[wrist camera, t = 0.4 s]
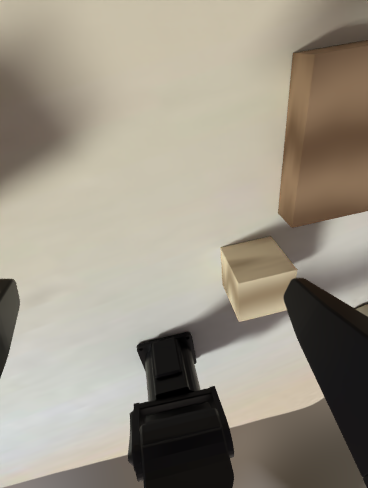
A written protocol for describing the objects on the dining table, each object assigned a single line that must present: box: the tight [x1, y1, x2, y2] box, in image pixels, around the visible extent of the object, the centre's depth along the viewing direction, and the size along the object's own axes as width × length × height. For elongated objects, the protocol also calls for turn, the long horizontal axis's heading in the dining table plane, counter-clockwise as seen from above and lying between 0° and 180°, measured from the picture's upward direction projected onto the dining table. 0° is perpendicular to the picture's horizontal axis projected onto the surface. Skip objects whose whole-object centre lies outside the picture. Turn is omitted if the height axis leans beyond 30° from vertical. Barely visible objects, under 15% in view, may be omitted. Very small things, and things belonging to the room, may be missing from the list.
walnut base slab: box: [278, 40, 368, 228], centre depth 21 cm, size 12×12×2 cm
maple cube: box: [221, 236, 297, 322], centre depth 26 cm, size 5×5×5 cm
